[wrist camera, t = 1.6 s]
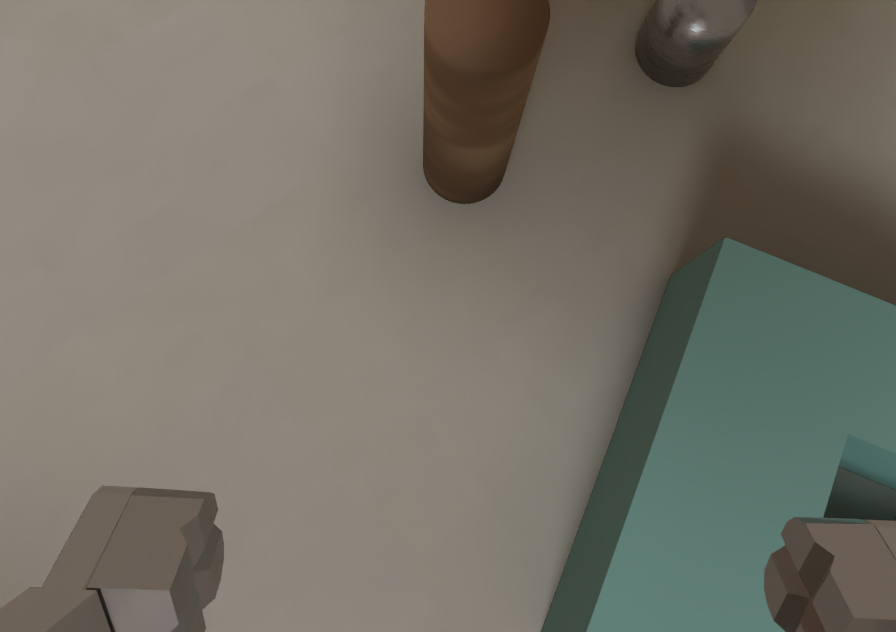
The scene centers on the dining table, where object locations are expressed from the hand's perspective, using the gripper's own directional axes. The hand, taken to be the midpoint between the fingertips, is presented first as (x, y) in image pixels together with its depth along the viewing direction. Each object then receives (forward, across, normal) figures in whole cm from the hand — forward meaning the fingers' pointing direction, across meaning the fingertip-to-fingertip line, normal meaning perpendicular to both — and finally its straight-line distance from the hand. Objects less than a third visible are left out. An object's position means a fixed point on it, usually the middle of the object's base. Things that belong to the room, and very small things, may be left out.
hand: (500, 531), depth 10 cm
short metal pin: (+24, -8, -1) cm, 25 cm away
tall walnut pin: (+20, 0, +2) cm, 20 cm away
